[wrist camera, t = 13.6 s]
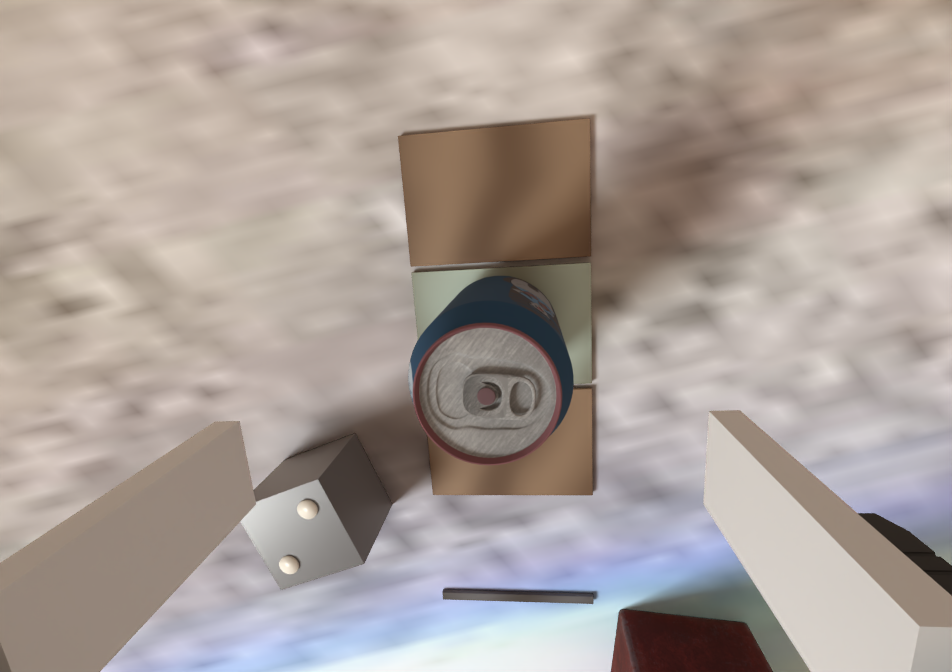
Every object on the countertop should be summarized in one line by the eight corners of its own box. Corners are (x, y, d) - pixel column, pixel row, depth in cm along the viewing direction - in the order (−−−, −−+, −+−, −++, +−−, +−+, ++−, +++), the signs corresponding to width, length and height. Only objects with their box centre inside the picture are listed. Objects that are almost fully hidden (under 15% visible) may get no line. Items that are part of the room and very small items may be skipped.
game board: (443, 596, 35) (443, 599, 35) (399, 136, 27) (398, 136, 27) (592, 600, 34) (593, 603, 33) (589, 119, 26) (590, 118, 26)
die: (322, 528, 35) (279, 591, 29) (284, 460, 33) (231, 511, 28) (392, 504, 33) (363, 565, 27) (355, 433, 32) (316, 480, 26)
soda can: (445, 376, 30) (396, 472, 19) (448, 270, 29) (396, 302, 17) (552, 384, 30) (570, 488, 18) (561, 276, 28) (588, 313, 16)
